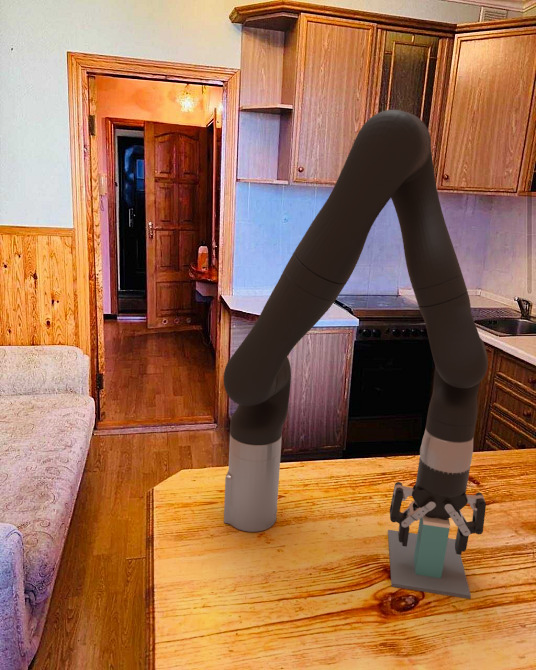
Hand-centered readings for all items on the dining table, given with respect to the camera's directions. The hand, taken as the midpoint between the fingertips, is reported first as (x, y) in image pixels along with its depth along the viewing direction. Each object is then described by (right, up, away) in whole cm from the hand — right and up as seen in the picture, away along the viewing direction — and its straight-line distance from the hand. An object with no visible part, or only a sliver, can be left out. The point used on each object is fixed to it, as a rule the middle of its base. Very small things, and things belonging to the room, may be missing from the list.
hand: (430, 547), depth 92 cm
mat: (0, -4, +3) cm, 5 cm away
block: (0, -4, +1) cm, 4 cm away
